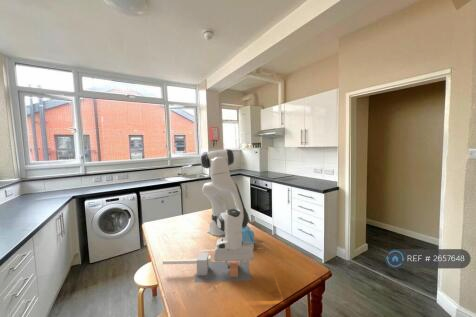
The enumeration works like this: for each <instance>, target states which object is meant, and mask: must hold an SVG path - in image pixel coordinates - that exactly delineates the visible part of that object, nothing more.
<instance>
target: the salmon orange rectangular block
mask: <svg viewBox="0 0 476 317" xmlns="http://www.w3.org/2000/svg"><path fill="white" fill-rule="evenodd" d="M229 262H230V277H238V261H229Z"/></svg>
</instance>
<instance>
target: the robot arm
mask: <svg viewBox="0 0 476 317" xmlns="http://www.w3.org/2000/svg"><path fill="white" fill-rule="evenodd" d="M234 161H235V154H234V152H233V150H232V149H227V148H226V149H216V150H211V151H204V152H202V153H201V154H200V157H199V162H200V165H201V167H203V168H204V169H207V170H208V169H209V175H210V178H211V181H210V182H205V183H204V184H203V185H202V188H201V192H202V194H203V195H204V196H205V197H206V198H208V201H209V202H210V204H211V217H210V218H211V219H210V221H209V228H208V229H207V230H206V231H207V232H206V233H208V234H210V235H212V236H216V237H218V236H223V237H221V238H218V239H217V240H216V244H215V248H214V250H215V251H214V254H213V260H214V262H225V264H226V265H227V269H230V264H228V262H230V261H240V263H239V264H238V269H241V264H242V263H243V261H248V262H249V261H251V262H252V261H253V260H254V249H255V247H254V246H255V245H254V244H255V243H254V244H253V243H251V242H242V233H241V231H242V228H244V227H246V225H248V223H249V221H250V217H249V214H248V211H247V210H246V208H245V203H244V201H243V197H242V194H241V192H240V189H239V186H238V184H237V183H236V182H235V181H233V179H232V177H231V172H230V168H229V166H230V165H233V164H234V163H235V162H234ZM220 197H232V199H233V202H234V206H235V209H234V208H233V209H228V210H227V203H226V202H225V201H224V200H221V199H220Z"/></svg>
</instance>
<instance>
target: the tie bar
mask: <svg viewBox="0 0 476 317" xmlns="http://www.w3.org/2000/svg"><path fill="white" fill-rule="evenodd" d="M211 260H212V256H211V255H210V254H208V259H207V263H208V264H210V263H211V262H212V261H211ZM191 264H192V265H193V264H194V265H197V258H184V259H183V258H181V259H179V258H178V259H163V260H162V265H191Z"/></svg>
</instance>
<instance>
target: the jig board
mask: <svg viewBox="0 0 476 317" xmlns="http://www.w3.org/2000/svg"><path fill="white" fill-rule="evenodd" d="M208 255H209V252H201V253H200V252H199V253H198V255H197V258H196V259H197V264H196V274H195V277H194V281H193V282H194V283H211V282H212V283H215V282H218V283H219V282H222V283H223V282H248V281H249V282H250V281H251V272H250V267H249V266H250V265H249V261H243V263H242V264H241V269H238V277H230V269H227V265H226V264H225V261H211V263H210V264H208V263H207V259H208ZM239 263H240V261H238V264H239ZM228 264H230V261H228Z"/></svg>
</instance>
